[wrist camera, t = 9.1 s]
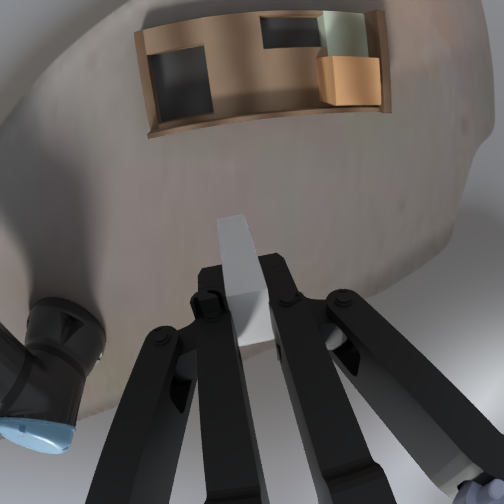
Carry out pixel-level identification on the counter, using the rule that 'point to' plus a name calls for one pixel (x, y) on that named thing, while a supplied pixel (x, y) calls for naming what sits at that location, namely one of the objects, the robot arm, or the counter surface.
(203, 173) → the counter surface
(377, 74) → the block
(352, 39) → the tray
